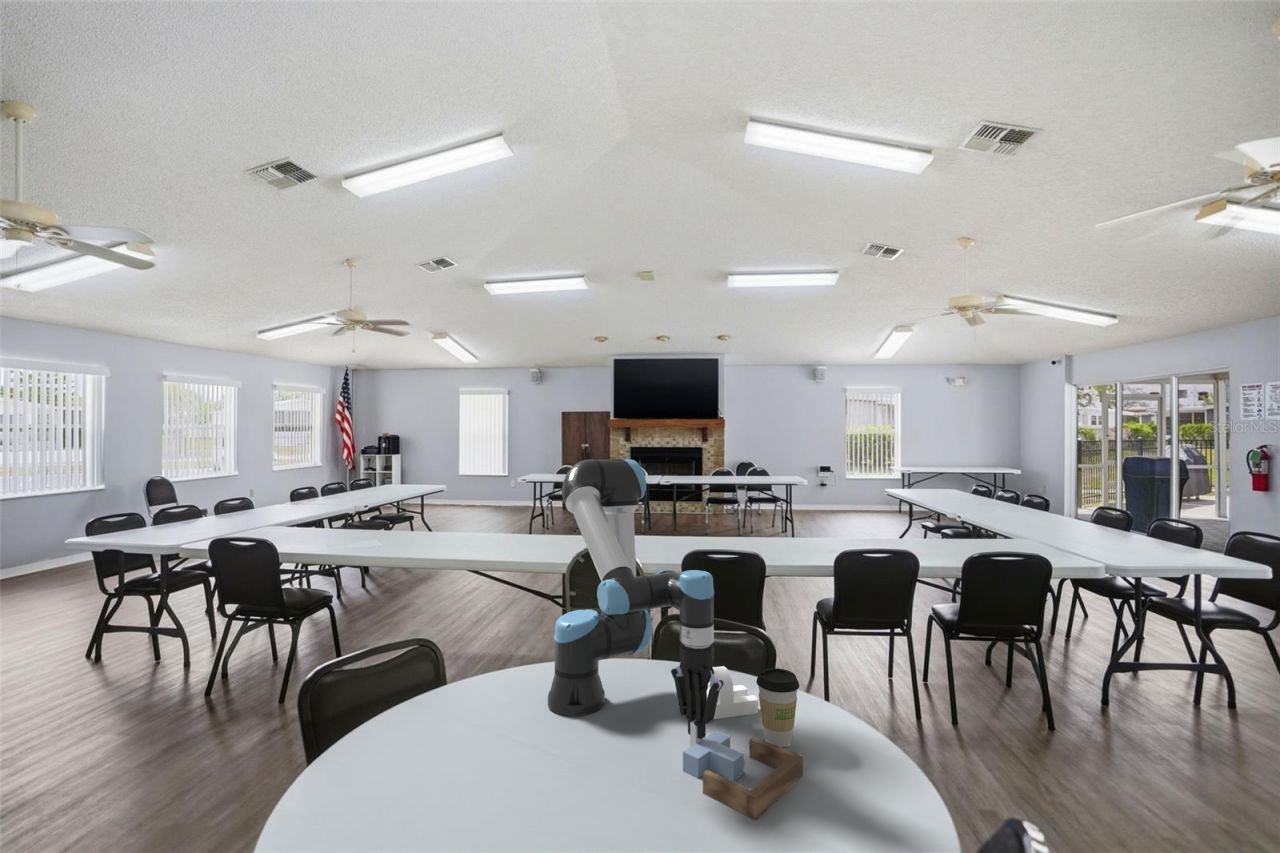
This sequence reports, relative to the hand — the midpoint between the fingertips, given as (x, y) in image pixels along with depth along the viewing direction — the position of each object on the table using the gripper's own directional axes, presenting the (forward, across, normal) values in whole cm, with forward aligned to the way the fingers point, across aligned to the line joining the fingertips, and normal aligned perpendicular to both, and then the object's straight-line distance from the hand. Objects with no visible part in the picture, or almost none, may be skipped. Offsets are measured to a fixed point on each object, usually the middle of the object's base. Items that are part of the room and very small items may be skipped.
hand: (696, 751), depth 127 cm
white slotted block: (+2, -10, +23) cm, 25 cm away
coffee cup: (+2, +9, +19) cm, 21 cm away
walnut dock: (+2, +15, 0) cm, 15 cm away
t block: (+2, +6, 0) cm, 6 cm away
